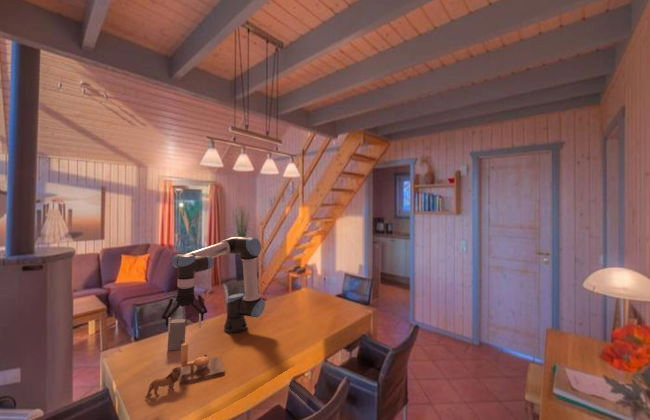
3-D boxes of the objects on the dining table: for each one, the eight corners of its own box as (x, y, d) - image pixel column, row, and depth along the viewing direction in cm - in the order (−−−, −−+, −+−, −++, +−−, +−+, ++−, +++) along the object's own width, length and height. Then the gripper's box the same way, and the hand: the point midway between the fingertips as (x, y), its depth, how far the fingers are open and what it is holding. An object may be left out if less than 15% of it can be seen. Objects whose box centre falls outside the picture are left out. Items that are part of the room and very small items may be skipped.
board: (220, 359, 155) (220, 348, 155) (224, 374, 141) (224, 362, 141) (179, 368, 146) (179, 356, 146) (179, 385, 132) (179, 372, 132)
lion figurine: (178, 382, 134) (178, 363, 134) (183, 387, 130) (183, 367, 131) (142, 397, 123) (143, 376, 123) (147, 403, 119) (147, 381, 119)
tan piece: (208, 357, 148) (208, 337, 148) (209, 364, 142) (210, 342, 142) (180, 363, 142) (181, 342, 142) (180, 370, 136) (181, 348, 136)
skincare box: (167, 351, 163) (167, 323, 163) (170, 345, 170) (171, 319, 170) (183, 349, 165) (183, 322, 166) (185, 344, 172) (186, 317, 172)
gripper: (211, 282, 149) (210, 322, 149) (157, 287, 138) (155, 331, 138) (213, 285, 143) (212, 328, 143) (156, 291, 131) (154, 337, 131)
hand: (184, 329), depth 140 cm, fingers open, 13 cm apart
